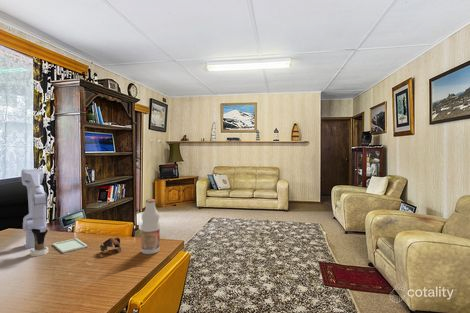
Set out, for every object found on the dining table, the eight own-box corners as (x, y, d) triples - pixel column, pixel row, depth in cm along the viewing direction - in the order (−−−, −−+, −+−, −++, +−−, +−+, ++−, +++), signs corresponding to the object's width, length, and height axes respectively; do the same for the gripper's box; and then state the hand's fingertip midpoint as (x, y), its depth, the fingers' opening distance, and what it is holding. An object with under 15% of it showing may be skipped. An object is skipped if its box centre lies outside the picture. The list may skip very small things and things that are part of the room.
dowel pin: (33, 248, 134) (33, 233, 134) (43, 246, 137) (43, 231, 137) (35, 250, 132) (35, 235, 132) (45, 248, 135) (45, 233, 135)
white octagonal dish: (29, 254, 134) (29, 249, 134) (45, 250, 140) (45, 245, 140) (32, 258, 129) (32, 253, 129) (49, 254, 135) (49, 249, 135)
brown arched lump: (117, 256, 134) (108, 243, 132) (103, 262, 136) (94, 250, 134) (128, 242, 146) (120, 230, 144) (114, 248, 147) (106, 237, 146)
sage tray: (52, 245, 146) (52, 243, 146) (76, 240, 155) (76, 238, 155) (62, 254, 135) (62, 251, 135) (87, 248, 144) (87, 245, 144)
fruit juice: (137, 251, 139) (138, 199, 139) (153, 246, 146) (153, 197, 146) (147, 256, 133) (147, 202, 133) (163, 251, 140) (163, 199, 140)
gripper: (26, 216, 136) (26, 241, 136) (33, 221, 126) (33, 248, 127) (42, 213, 141) (42, 238, 142) (50, 218, 132) (50, 244, 132)
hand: (39, 242), depth 134 cm, fingers closed on dowel pin, 4 cm apart
